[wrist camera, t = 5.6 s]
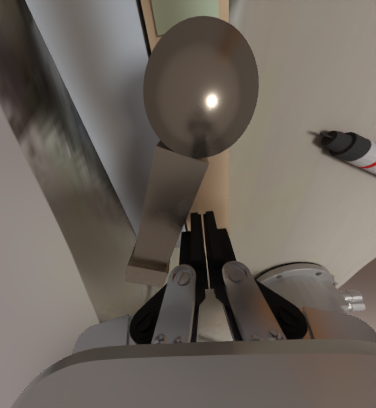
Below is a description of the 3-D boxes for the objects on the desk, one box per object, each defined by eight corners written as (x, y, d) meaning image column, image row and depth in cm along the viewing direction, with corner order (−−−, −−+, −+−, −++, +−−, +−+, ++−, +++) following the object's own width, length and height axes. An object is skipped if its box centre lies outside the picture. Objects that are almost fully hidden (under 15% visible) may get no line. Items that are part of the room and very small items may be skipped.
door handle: (169, 34, 7) (153, -23, 4) (248, 71, 7) (289, 48, 4) (131, 242, 14) (116, 279, 11) (173, 251, 15) (169, 288, 12)
